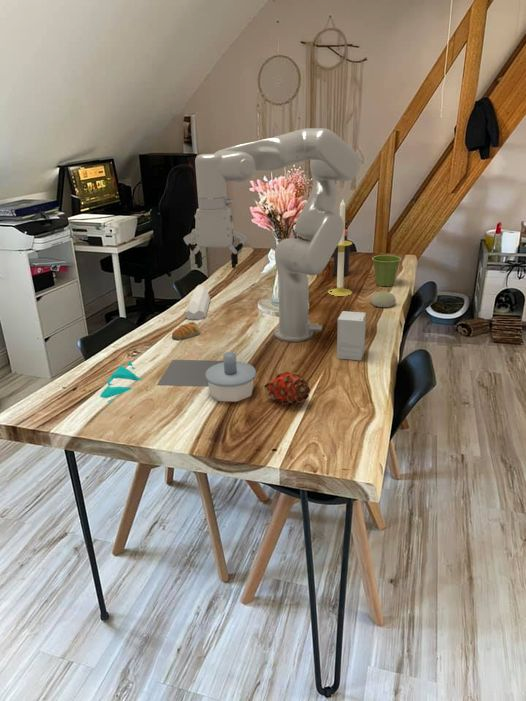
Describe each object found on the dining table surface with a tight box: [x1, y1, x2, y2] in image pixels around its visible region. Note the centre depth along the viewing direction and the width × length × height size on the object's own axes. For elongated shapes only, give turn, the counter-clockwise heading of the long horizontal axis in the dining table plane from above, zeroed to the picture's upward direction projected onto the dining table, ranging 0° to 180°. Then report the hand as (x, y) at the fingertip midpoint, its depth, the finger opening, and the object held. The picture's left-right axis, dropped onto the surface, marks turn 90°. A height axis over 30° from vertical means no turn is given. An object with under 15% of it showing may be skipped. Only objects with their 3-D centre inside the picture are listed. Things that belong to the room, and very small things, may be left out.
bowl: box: [208, 379, 254, 402], centre depth 136 cm, size 11×11×5 cm
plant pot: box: [371, 254, 402, 287], centre depth 217 cm, size 12×12×11 cm
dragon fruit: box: [264, 371, 311, 406], centre depth 130 cm, size 8×8×12 cm
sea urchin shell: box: [370, 290, 397, 308], centre depth 195 cm, size 9×8×8 cm
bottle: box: [332, 229, 351, 277], centre depth 229 cm, size 7×7×20 cm
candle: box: [327, 198, 353, 297], centre depth 202 cm, size 10×10×38 cm
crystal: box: [184, 284, 211, 321], centre depth 196 cm, size 7×7×24 cm
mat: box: [156, 359, 224, 388], centre depth 147 cm, size 16×16×1 cm
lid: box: [206, 351, 257, 387], centre depth 134 cm, size 13×13×6 cm
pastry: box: [171, 321, 201, 340], centre depth 173 cm, size 9×7×4 cm
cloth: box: [99, 360, 143, 403], centre depth 143 cm, size 26×14×2 cm, turn 167°
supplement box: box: [336, 310, 367, 361], centre depth 153 cm, size 7×7×13 cm
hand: (217, 267), depth 144 cm, fingers open, 9 cm apart
